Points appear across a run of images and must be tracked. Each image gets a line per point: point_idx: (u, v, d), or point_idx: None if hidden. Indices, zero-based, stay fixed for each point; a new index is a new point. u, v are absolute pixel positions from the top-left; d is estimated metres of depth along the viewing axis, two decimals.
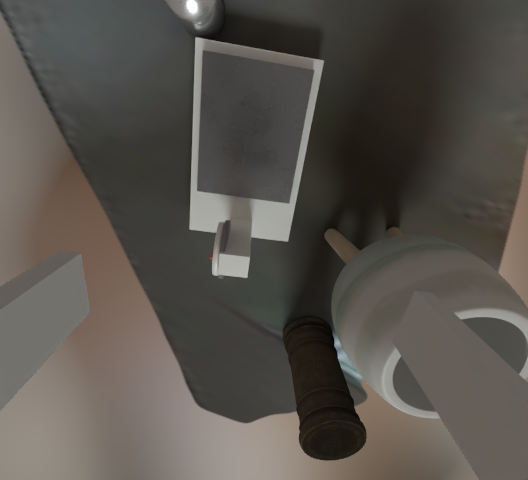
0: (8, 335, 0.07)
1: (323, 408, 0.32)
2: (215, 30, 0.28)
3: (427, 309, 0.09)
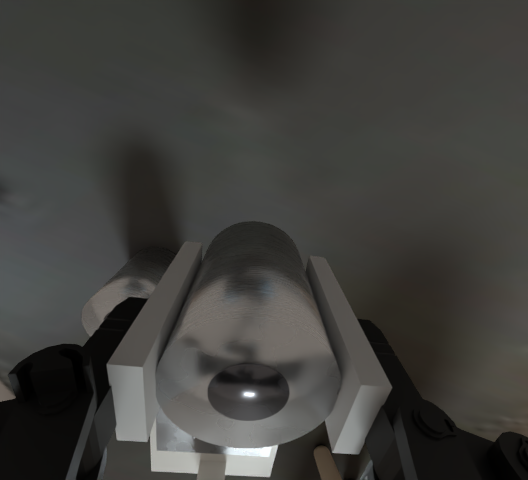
0: (183, 302, 0.09)
1: None
2: None
3: (312, 269, 0.11)
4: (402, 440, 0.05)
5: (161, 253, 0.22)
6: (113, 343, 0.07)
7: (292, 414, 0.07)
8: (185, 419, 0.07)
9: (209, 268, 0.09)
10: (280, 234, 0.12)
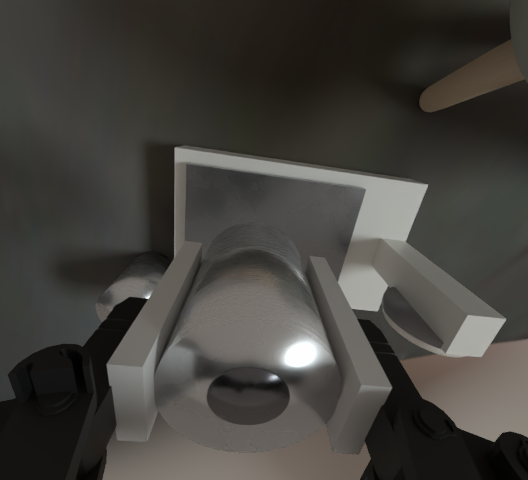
0: (183, 302, 0.09)
1: None
2: (165, 266, 0.27)
3: (312, 269, 0.11)
4: (402, 440, 0.05)
5: None
6: (113, 343, 0.07)
7: (292, 418, 0.07)
8: (184, 423, 0.07)
9: (209, 270, 0.09)
10: (280, 235, 0.12)
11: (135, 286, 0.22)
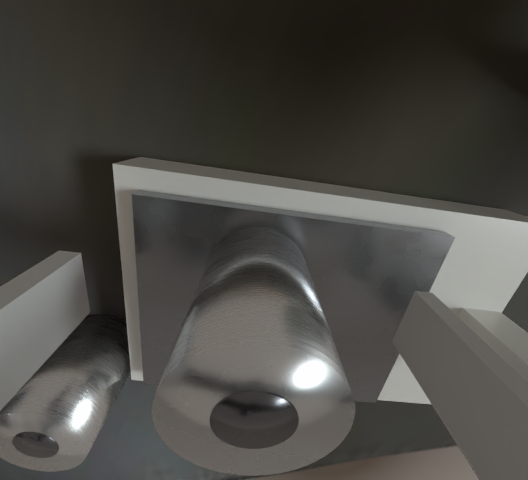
0: (8, 335, 0.07)
1: None
2: (120, 340, 0.17)
3: (427, 309, 0.09)
4: None
5: None
6: None
7: (301, 442, 0.07)
8: (186, 446, 0.07)
9: (211, 280, 0.08)
10: (286, 241, 0.11)
11: (51, 402, 0.13)
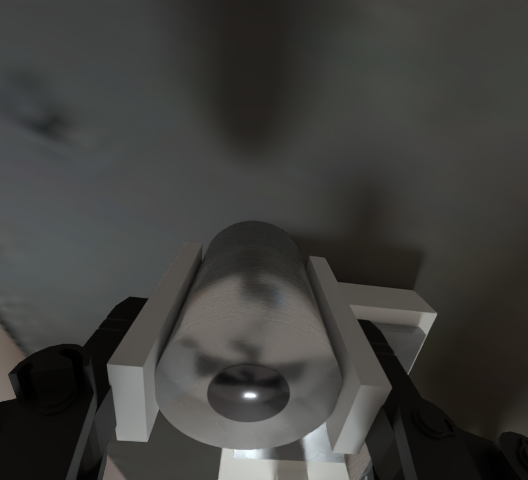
0: (183, 302, 0.09)
1: None
2: None
3: (312, 269, 0.11)
4: (402, 440, 0.05)
5: (272, 231, 0.11)
6: (113, 343, 0.07)
7: None
8: None
9: None
10: None
11: None
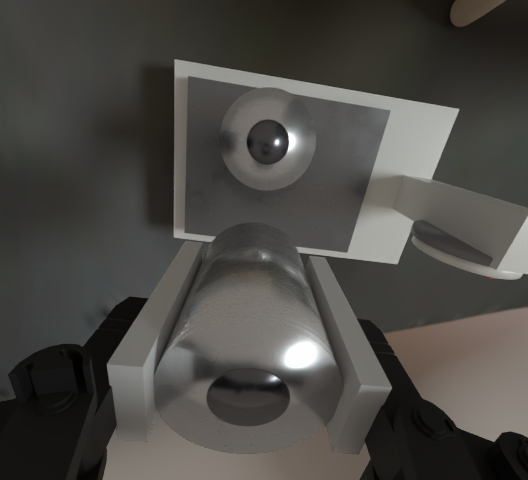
0: (183, 302, 0.09)
1: None
2: None
3: (312, 269, 0.11)
4: (403, 441, 0.05)
5: (272, 233, 0.11)
6: (113, 343, 0.07)
7: (290, 161, 0.14)
8: (233, 164, 0.14)
9: None
10: None
11: None
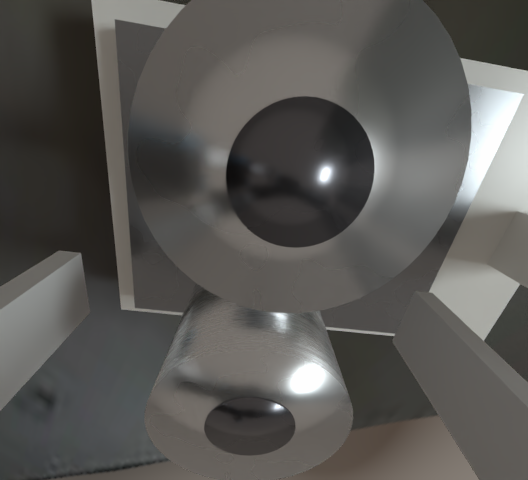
0: (8, 335, 0.07)
1: None
2: None
3: (427, 309, 0.09)
4: None
5: None
6: None
7: (370, 236, 0.04)
8: (186, 246, 0.04)
9: None
10: None
11: None
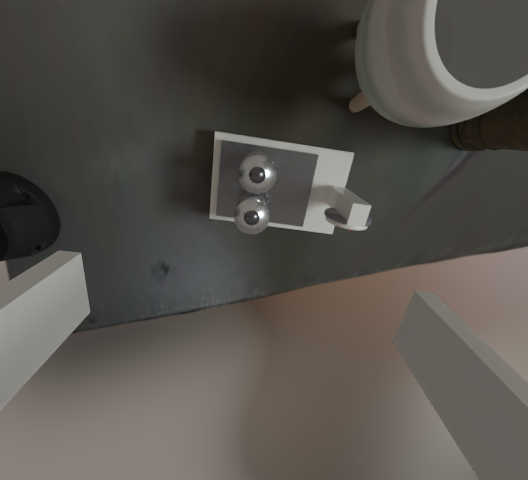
0: (8, 335, 0.07)
1: None
2: None
3: (427, 309, 0.09)
4: None
5: None
6: None
7: (266, 182, 0.34)
8: (243, 183, 0.34)
9: (247, 156, 0.36)
10: None
11: None
